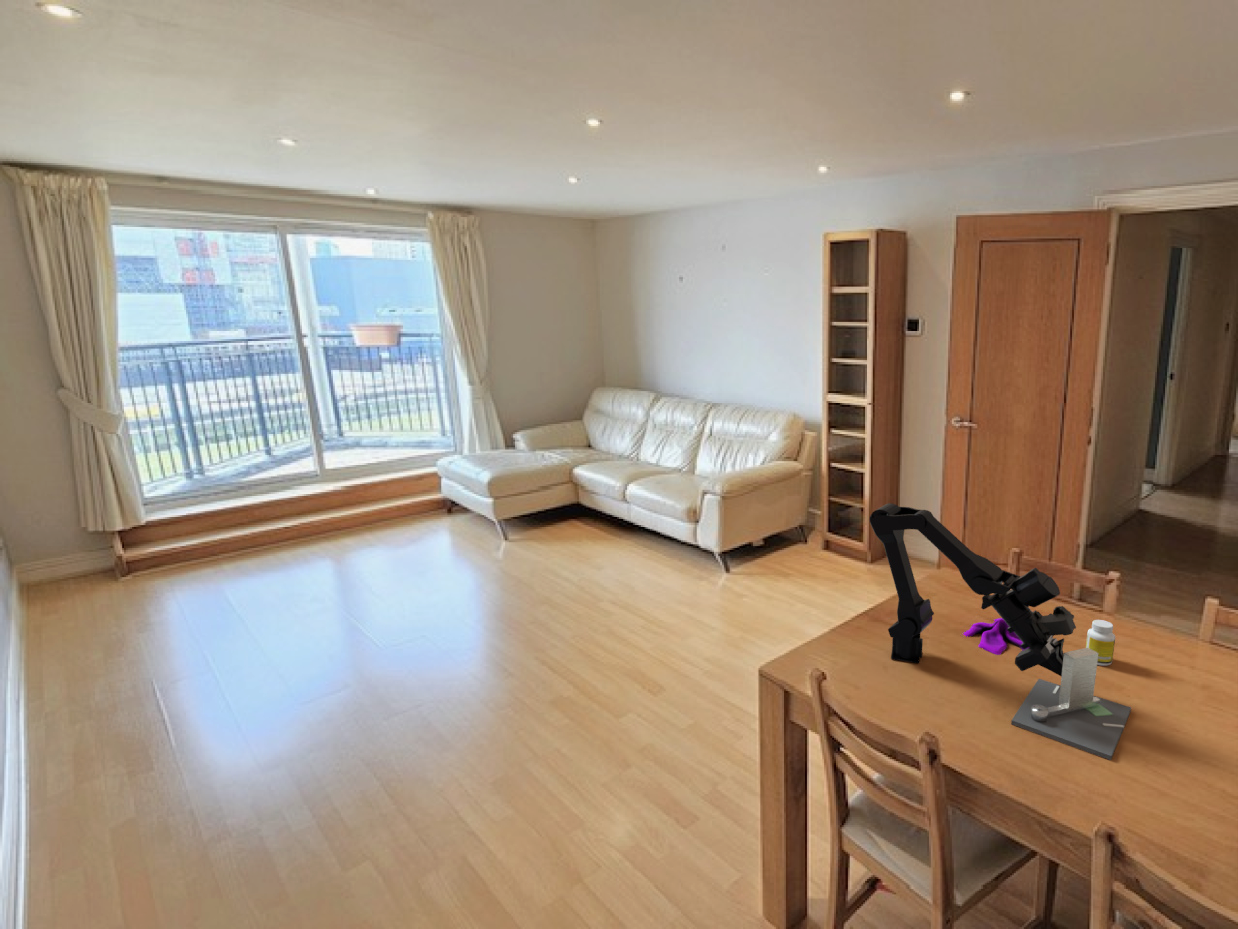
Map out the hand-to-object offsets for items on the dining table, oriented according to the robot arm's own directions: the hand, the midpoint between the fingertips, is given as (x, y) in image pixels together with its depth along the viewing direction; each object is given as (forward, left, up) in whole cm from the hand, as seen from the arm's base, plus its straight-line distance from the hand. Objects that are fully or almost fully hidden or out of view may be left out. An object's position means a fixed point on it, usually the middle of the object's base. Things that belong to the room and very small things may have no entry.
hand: (1071, 678), depth 138 cm
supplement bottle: (+9, +24, -8) cm, 27 cm away
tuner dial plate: (0, -3, -7) cm, 8 cm away
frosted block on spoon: (-1, -3, -6) cm, 7 cm away
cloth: (-12, +29, -8) cm, 33 cm away
